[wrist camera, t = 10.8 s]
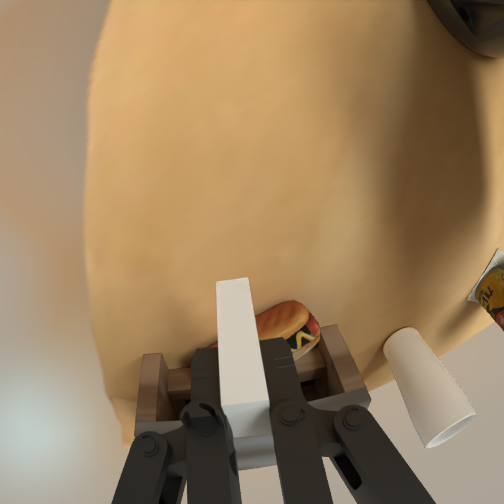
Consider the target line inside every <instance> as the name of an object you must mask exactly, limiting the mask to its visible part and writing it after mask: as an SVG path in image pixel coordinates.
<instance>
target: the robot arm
mask: <svg viewBox="0 0 504 504" xmlns="http://www.w3.org/2000/svg"><path fill="white" fill-rule="evenodd" d="M428 1H429V3H430V5H431V6H432V8H433V10H434V11H435V13H436V14H437V16H438V17H439V18H440V20H441V21H442V22H443V24H444V25H445V26H446V27H447V29H448V30H449V31H450V32H451V33H452V34H453V35H454V36H455V37H456V38H457V39H458V40H459V41H460V42H461V43H462V44H463V45H465V46H466V47H467V48H469V49H470V50H472V51H473V52H475V53H477V54H480V55H483V56H487V57H497V58H504V0H428ZM216 299H217V329H218V347H210V348H201V349H197V350H196V352H195V354H194V355H193V357H192V363H191V371H192V372H191V403H189V404H187V405H186V406H185V407H184V408H183V410H182V411H181V413H180V417H179V418H180V420H181V422H182V423H183V425H182V426H181V427H180V428H178V429H175V430H173V431H170V432H167V433H164V434H159V433H157V432H155V431H146V432H143V433H141V434H139V435H138V436H137V437H136V438H135V439H134V441H133V443H132V445H131V448H130V451H129V454H128V457H127V459H126V462H125V465H124V468H123V471H122V474H121V477H120V480H119V482H118V486H117V488H116V491H115V494H114V497H113V500H112V503H111V504H181V500H182V496H183V492H184V488H185V484H186V480H187V502H188V504H242V501H241V492H240V484H239V475H238V466H237V456H236V450H235V447H234V441H233V437H234V438H236V437H245V436H253V435H260V434H267V433H272V436H273V441H274V449H275V454H276V460H277V466H278V472H279V478H280V483H281V489H282V495H283V500H284V504H333V500H332V496H331V492H330V488H329V485H328V480H327V476H326V472H325V468H324V465H323V460H322V457H329V458H330V460H331V461H332V463H333V465H334V466H335V468H336V470H337V471H338V473H339V475H340V476H341V478H342V479H343V481H344V483H345V484H346V486H347V488H348V489H349V491H350V493H351V494H352V496H353V497H354V499H355V501H356V502H357V504H436V503H435V502H434V500H433V499H432V497H431V496H430V495H429V493H428V492H427V490H426V489H425V488H424V486H423V485H422V483H421V482H420V481H419V480H418V478H417V477H416V475H415V474H414V473H413V471H412V470H411V468H410V467H409V465H408V464H407V463H406V461H405V460H404V459H403V458H402V456H401V454H400V453H399V452H398V450H397V449H396V448H395V446H394V445H393V443H392V442H391V441H390V439H389V438H388V437H387V435H386V434H385V432H384V431H383V430H382V428H381V427H380V426H379V424H378V423H377V421H376V420H375V419H374V417H373V416H372V414H371V413H370V412H369V411H368V410H367V409H366V408H365V407H362V406H360V405H348V406H344V407H343V408H341V409H340V410H339V411H330V410H321V409H317V408H314V407H312V406H311V405H310V404H308V403H307V401H306V400H305V398H304V396H303V393H302V389H301V385H300V381H299V377H298V374H297V370H296V366H295V362H294V358H293V355H292V351H291V347H290V345H289V344H288V342H287V341H286V340H285V339H284V338H283V337H277V338H271V339H265V340H258V334H257V328H256V322H255V316H254V310H253V304H252V299H251V293H250V287H249V281H248V277H246V278H239V279H232V280H225V281H218V282H216Z"/></svg>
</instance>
